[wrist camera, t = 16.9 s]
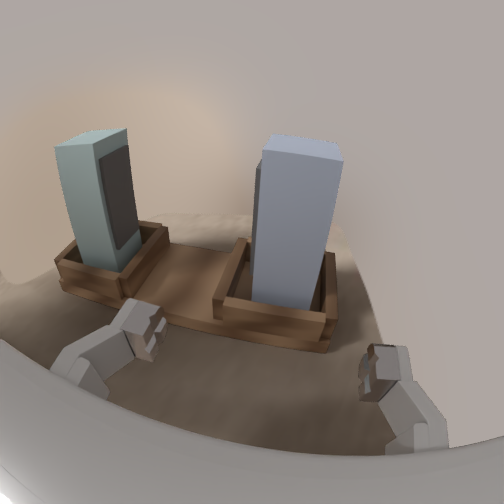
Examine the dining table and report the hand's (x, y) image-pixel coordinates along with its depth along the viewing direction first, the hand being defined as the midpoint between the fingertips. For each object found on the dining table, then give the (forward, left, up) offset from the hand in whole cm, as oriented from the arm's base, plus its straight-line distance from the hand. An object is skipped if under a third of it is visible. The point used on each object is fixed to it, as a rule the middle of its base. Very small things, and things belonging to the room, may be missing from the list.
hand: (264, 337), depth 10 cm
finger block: (0, +13, -10) cm, 16 cm away
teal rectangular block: (-18, +13, -10) cm, 24 cm away
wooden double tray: (-9, +13, -12) cm, 20 cm away
